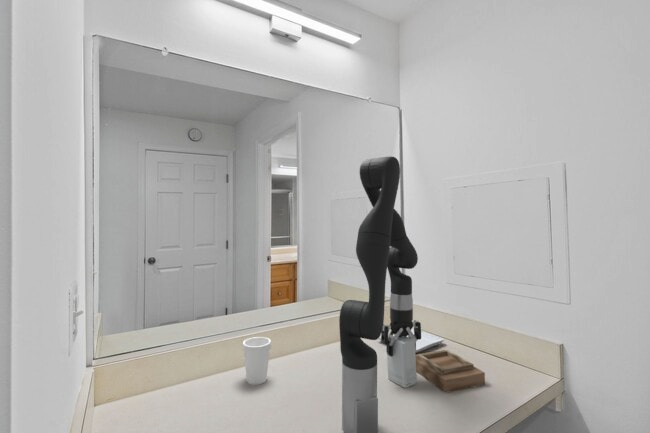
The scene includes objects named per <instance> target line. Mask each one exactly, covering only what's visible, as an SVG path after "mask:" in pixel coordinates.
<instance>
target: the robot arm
mask: <svg viewBox="0 0 650 433" xmlns="http://www.w3.org/2000/svg"><path fill="white" fill-rule="evenodd" d="M400 177H401V166H400V162H399V160H398V159H397V157H396V156H390V155H389V156H382V157H380V156H379V157H373V158H369V159H365V160H363V161H362V162H361V164H360V165H359V179H360V181H361V184H362V187H363V189H364V191H365V193H366V196H367V197H368V201H369V202H370V205H371V206H372V208H371V210H370V211H369V212H368V214H367V215H366V216H365V218H364V219H363V220H362V222H361V224H360V226H359V228H358V232H357V236H356V237H357V238H356V239H357V240H356V244H355V245H356V246H355V253H356V257H357V259H358V262H359V264H360V267H361V269H362V271H363V273H364V275H365V278H366V280H367V285H368V301H365V300H364V301H362V300H355V299H348V300H345V301H344V302H343V304H341V307H340V310H339V311H340V312H339V317H338V318H339V320H338V322H339V328H338V329H339V341H340V342H339V344H340V345H339V347H340V349H339V350H340V353H341V359H342V360H341V361H342V364H341V366H342V368H341V428H342V430H343V432H344V433H379V398H378V354H377V351H376V350H375V349H374V348H373V347H371V346H370V345H368V344H367V343H366V342H365V341H363V340H369V341H370V340H371V341H376V340H379V339H378V338H379V337H380V335H381V340H380V343H383V344H384V346H385V345H386V355H387V354H388V355H389V356H390V357H391V356H393V343H394V341H395V340H397V338H398V337H403V336H404V337H406V336H408V337H409V338H412V339H415V351H416V341H417V340H418V339H419V340H420V339H421V332H422V324H421V322H419V320H416V319H415V320H413V319H414V318H413V317H414V315H413V314H414V304H413V303H414V301H413V300H414V299H413V280H412V277H411V276H410V275H408V274H404V273H402V271H401V270H400V269H406V270H410V269H414V268H415V267H416V266H417V264H418V260H419V258H418V253H417V250H416V248H415V247H414V245H413V244H412V242H411V241H410V239H409V237H408V236H407V231H406V228H405V223H404V221H403V218H402V216H401V215H400V213H399V212H398V211H397V210H396V209H395V205H396V199H397V195H398V189H399V184H400ZM387 271H388V274H389V275H388V276H389V278H390V296H389V319H390V322H389V324H388V325H387V324H384V322H385V303H386V300H385V298H386V282H387V281H386V280H387ZM411 329H414V334H413V333H412V331H411ZM390 331H391V332H390ZM388 332H390V333H389V335H388ZM393 334H394V336H393Z"/></svg>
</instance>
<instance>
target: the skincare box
mask: <svg viewBox="0 0 650 433" xmlns="http://www.w3.org/2000/svg"><path fill="white" fill-rule="evenodd" d="M393 336H394V335H393ZM386 357H387V358H386V359H387V360H386V361H387V379H388V380H389V381H391V382H393V383H395V384H397V385H399V386H401V387H403V388H404V389H406V388H408V387H411V386H414V385H417V372H416V353H415V339H412V338H409V337H404V336H403V337H398V338H397V340H395V341H394V343H393V356H391V357H390V356H389V355H388V354H387V353H386Z"/></svg>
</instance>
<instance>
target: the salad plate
mask: <svg viewBox="0 0 650 433" xmlns="http://www.w3.org/2000/svg"><path fill="white" fill-rule="evenodd" d="M411 331H412V333H413V334H414V328H412V329H411ZM390 332H391V330H389V332H388V335H389V333H390ZM393 335H394V334H393ZM406 337H408V336H406ZM377 340H379V341H381V335H380V337H379V338H378V339H377ZM444 341H445V338H443V337H440V336H437V335H434V334H431V333H428V332H425V331H421V339H420V340H419V339H418V340H417V341H416V351H415V354H419V353H421V352H423V351H425V350H428V349H430V348H432V347H436V346H438V345H439V344H441V343H443V342H444Z"/></svg>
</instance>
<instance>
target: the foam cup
mask: <svg viewBox="0 0 650 433" xmlns="http://www.w3.org/2000/svg"><path fill="white" fill-rule="evenodd" d="M271 349H272V340H271V339H270V338H269V337H265V336H255V337H254V336H253V337H250V338H249V337H248V338H246V339H244V340H243V342H242V352H243V358H244V367H245V373H246V374H245V375H246V381H247V383H248V384H250V385H261V384H263V383H265V382H266V381H267V377H268V368H269V362H270V361H269V360H270V354H271V352H270V351H271Z"/></svg>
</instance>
